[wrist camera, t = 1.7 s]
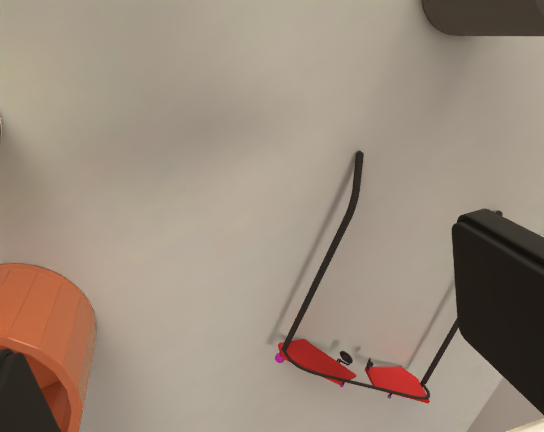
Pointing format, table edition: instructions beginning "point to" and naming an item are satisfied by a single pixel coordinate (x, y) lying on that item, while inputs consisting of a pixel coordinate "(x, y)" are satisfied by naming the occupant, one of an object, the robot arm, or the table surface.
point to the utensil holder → (49, 335)
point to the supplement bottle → (0, 129)
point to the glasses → (325, 366)
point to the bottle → (487, 17)
